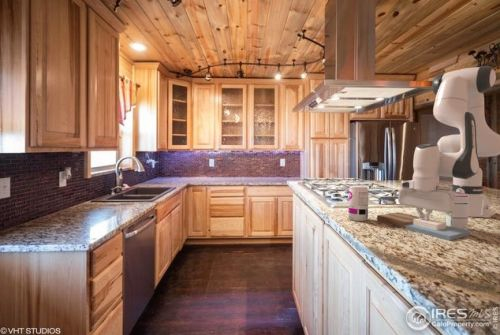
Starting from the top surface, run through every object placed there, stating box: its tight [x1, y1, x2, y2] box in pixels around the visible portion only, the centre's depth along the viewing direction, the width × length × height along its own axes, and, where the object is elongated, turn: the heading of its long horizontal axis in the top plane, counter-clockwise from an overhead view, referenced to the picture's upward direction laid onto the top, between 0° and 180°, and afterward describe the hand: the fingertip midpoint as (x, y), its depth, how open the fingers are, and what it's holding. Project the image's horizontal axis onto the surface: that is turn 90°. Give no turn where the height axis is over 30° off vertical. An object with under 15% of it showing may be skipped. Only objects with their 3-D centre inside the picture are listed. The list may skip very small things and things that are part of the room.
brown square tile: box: [376, 212, 419, 229], centre depth 117 cm, size 14×13×2 cm
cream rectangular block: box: [413, 218, 446, 230], centre depth 107 cm, size 6×9×2 cm, turn 26°
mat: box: [404, 224, 472, 241], centre depth 104 cm, size 14×16×2 cm
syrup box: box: [444, 192, 469, 230], centre depth 108 cm, size 6×6×14 cm
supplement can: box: [347, 184, 370, 222], centre depth 123 cm, size 8×8×15 cm
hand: (423, 219), depth 109 cm, fingers closed
